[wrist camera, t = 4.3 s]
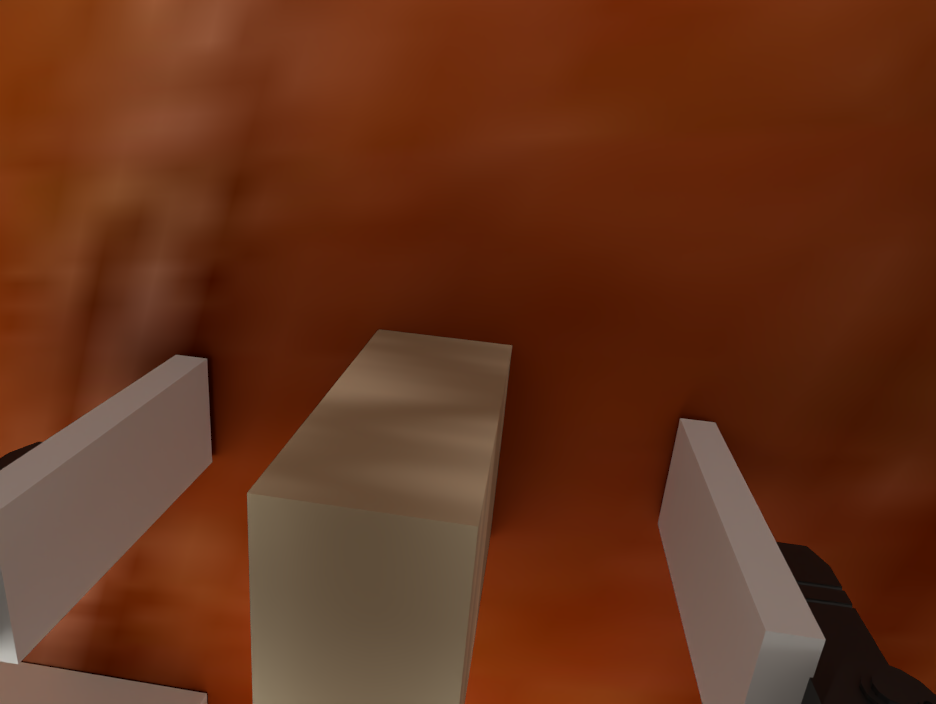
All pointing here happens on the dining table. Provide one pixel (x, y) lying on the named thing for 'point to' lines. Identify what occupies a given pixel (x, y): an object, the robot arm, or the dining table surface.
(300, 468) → the beige rectangular block
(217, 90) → the dining table surface
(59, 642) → the dining table surface
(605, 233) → the dining table surface
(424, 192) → the dining table surface
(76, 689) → the box
